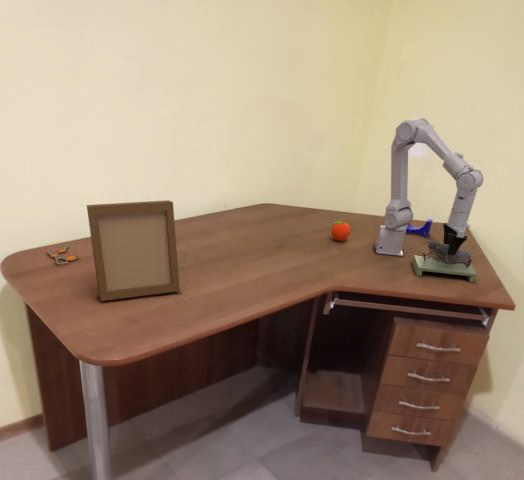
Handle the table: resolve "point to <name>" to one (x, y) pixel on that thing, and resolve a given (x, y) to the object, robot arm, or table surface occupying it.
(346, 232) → the red tomato
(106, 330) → the table surface
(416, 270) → the shelf
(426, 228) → the blue curved piece
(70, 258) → the key chain
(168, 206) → the photo frame
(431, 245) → the bird
